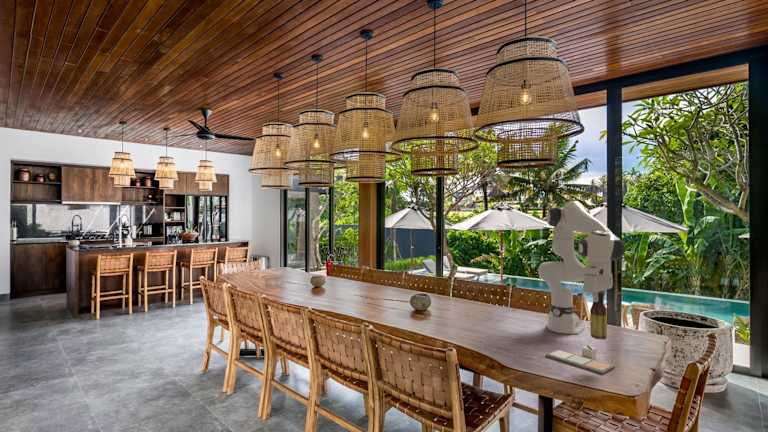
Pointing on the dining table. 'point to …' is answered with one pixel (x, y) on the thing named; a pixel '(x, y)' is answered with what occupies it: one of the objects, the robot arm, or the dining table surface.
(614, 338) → the dining table surface
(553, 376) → the dining table surface
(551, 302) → the robot arm
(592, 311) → the sauce bottle
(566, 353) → the game strip
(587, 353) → the pale notched block
